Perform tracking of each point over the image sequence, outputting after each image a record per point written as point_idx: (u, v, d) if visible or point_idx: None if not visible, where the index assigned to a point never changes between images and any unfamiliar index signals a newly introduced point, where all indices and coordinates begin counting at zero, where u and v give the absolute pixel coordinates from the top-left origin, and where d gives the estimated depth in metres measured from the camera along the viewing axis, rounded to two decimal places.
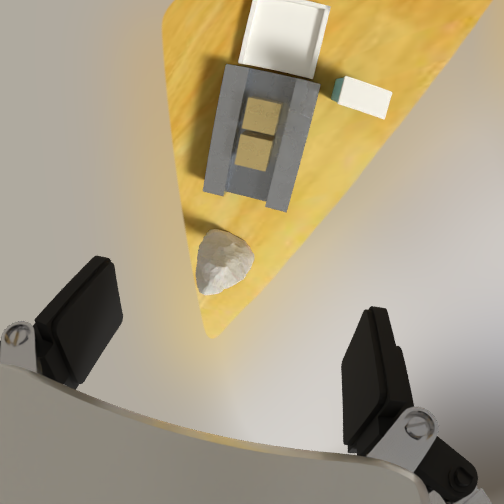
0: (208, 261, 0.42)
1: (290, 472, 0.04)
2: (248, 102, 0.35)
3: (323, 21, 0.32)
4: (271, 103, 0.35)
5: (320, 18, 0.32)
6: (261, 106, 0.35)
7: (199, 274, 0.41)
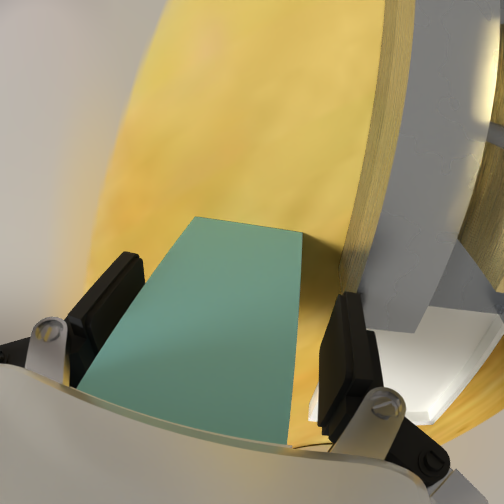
0: None
1: (290, 472, 0.04)
2: None
3: None
4: None
5: None
6: None
7: None
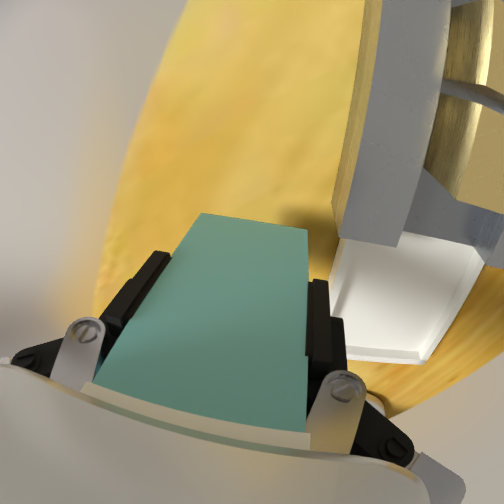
0: None
1: (290, 472, 0.04)
2: None
3: None
4: (478, 202, 0.10)
5: None
6: (500, 196, 0.10)
7: None
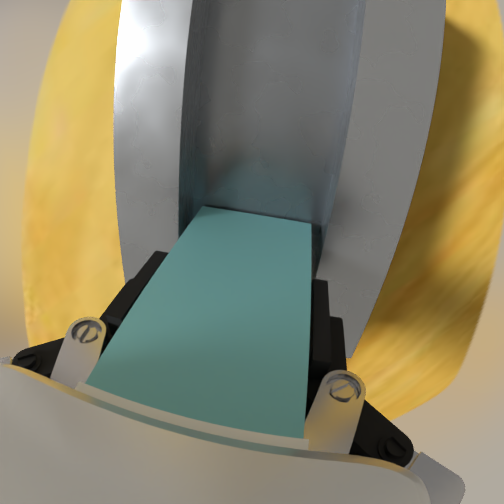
0: None
1: (290, 472, 0.04)
2: None
3: None
4: None
5: None
6: None
7: None
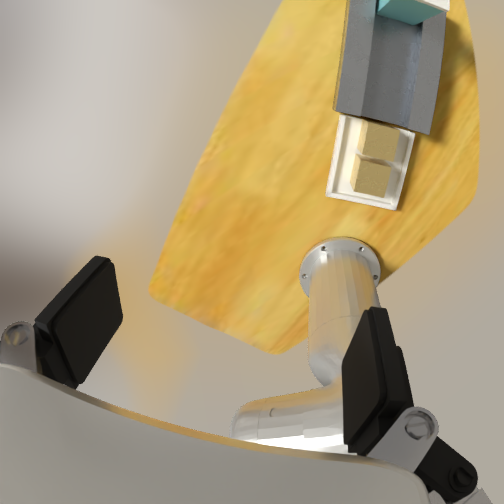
0: None
1: (290, 472, 0.04)
2: (384, 193, 0.36)
3: (332, 178, 0.40)
4: (362, 192, 0.37)
5: (335, 181, 0.41)
6: (372, 189, 0.36)
7: None
